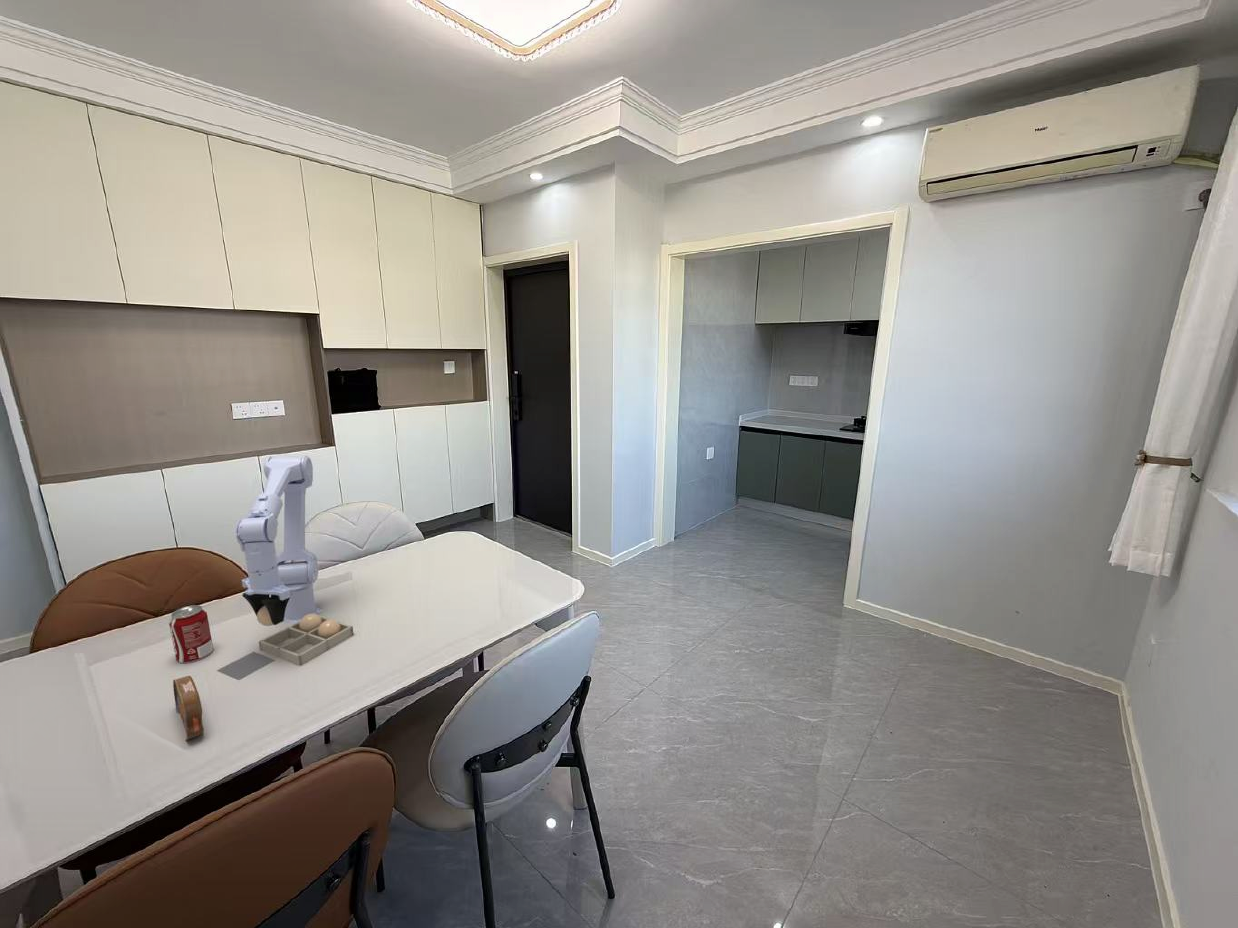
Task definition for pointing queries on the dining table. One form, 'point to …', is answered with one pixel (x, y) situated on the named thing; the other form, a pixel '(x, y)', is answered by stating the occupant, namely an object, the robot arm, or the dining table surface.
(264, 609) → the loose egg
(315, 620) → the seated egg
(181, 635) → the soda can
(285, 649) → the egg tray
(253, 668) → the slate coaster
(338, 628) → the seated egg
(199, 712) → the tin
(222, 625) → the dining table surface
